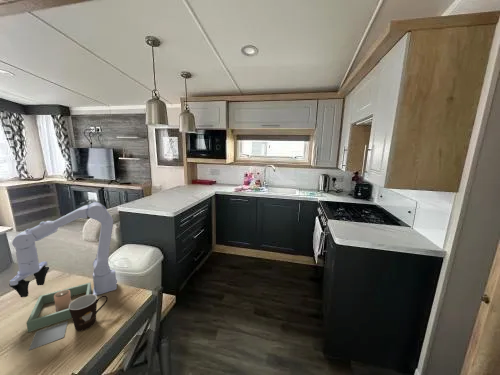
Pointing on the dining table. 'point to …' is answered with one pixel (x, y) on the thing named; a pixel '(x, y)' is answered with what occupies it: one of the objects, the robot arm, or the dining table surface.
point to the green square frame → (55, 317)
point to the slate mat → (48, 335)
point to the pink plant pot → (62, 300)
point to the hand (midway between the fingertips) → (33, 290)
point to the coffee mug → (84, 311)
